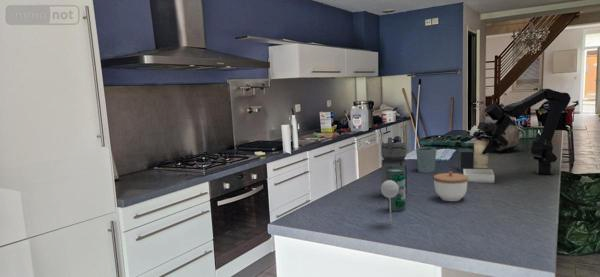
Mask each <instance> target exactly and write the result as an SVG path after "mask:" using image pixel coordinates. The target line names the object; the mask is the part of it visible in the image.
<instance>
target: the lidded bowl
mask: <svg viewBox="0 0 600 277" xmlns="http://www.w3.org/2000/svg"><path fill="white" fill-rule="evenodd" d="M433 180H434V181H433V183H434V189H435V192H436V195H437V196H438V197H440V199H441V200H442V201H445V202H458V201H461V199H462V198H463V197H464V196H465V195H466V193H467V190H468V182H467V180H468V177H467V176H466V175H463V173H455V172H454V173H453V171H448V172H447V173H444V172H443V173H437V174H434V176H433Z"/></svg>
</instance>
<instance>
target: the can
mask: <svg viewBox="0 0 600 277" xmlns="http://www.w3.org/2000/svg"><path fill="white" fill-rule="evenodd" d="M388 180H392V181H394V182H396V183H397V185H398V187H399V192H398V194H397V195H396V196H395V197H393V198H391V212H403V211H405V210H406V209H407V208H406V207H407V206H406V205H407V204H406V195H405V170H404V169H401V168H391V169H388V170H387V181H388ZM387 208H388V211H390V205H389V198H387Z"/></svg>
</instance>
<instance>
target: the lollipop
mask: <svg viewBox="0 0 600 277" xmlns="http://www.w3.org/2000/svg"><path fill="white" fill-rule="evenodd" d="M380 192H381V194H382V196H384V197H385V198H387V199H388V198H389V205H390V210H389V225H392V211H391V198H393V197H395V196H396V195H397V194H398V192H399V187H398V185H397V183H396V182H394V181H392V180H388V181H385V182H384V183H383V184H382V183H381V186H380Z"/></svg>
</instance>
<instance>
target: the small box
mask: <svg viewBox="0 0 600 277" xmlns="http://www.w3.org/2000/svg"><path fill="white" fill-rule="evenodd" d="M457 169H458V170H459V171H460V172H462V173H463V169H474V150H471V149H470V148H457Z"/></svg>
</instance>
